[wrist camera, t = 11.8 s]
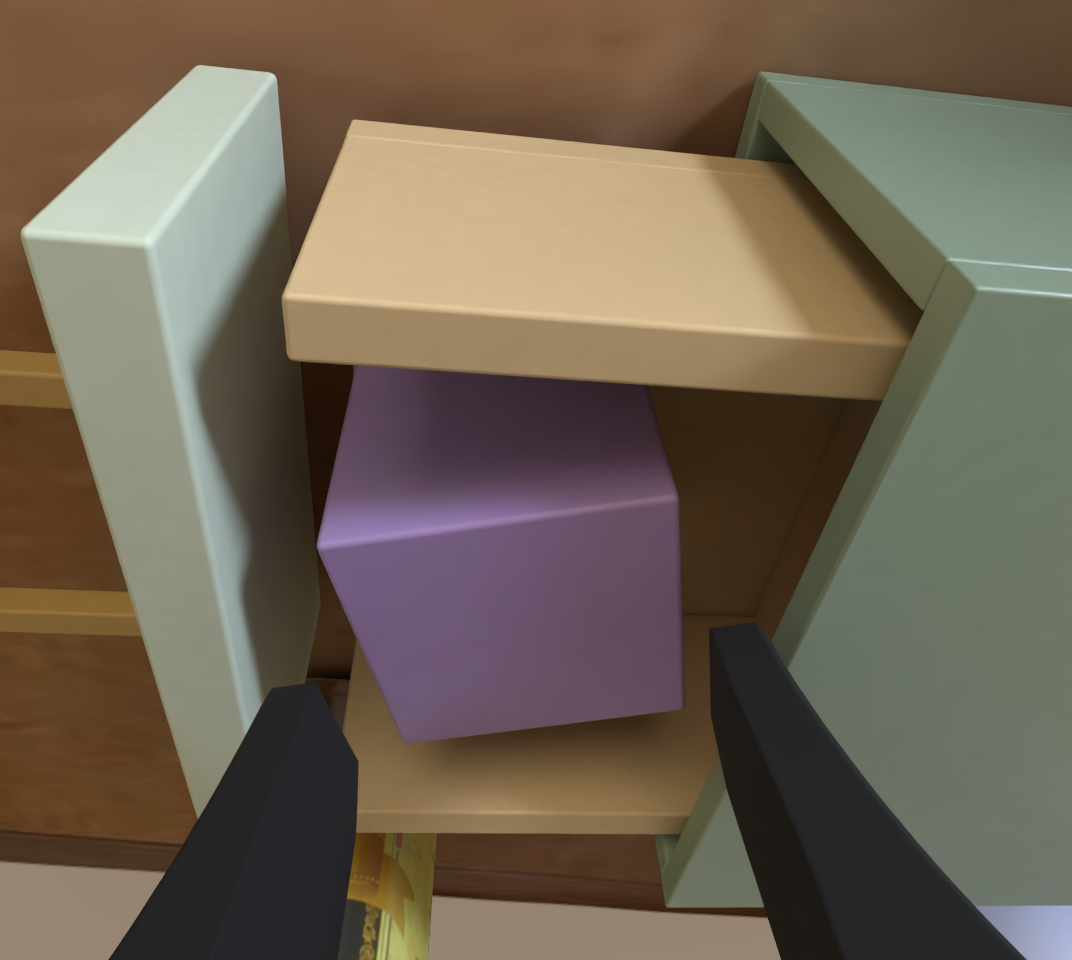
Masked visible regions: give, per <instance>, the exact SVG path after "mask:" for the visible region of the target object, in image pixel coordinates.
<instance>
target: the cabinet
mask: <svg viewBox="0 0 1072 960" xmlns="http://www.w3.org/2000/svg"><path fill="white" fill-rule="evenodd" d="M735 158H738V159H748V160H758V161H767V162H777V163H787V164H796V165H797V166H798V167H799V168H800V169H801V170H802V172H803V173H804V174H805V175H806V176H807V177H808V179H809V180H810V181H811V182H812V183H813V184H814V186H815V187H816V188H817V189H818V190H819V191H820V193H821V194H822V195H823V196H824V197H825V198H826V200H827V201H828V202H829V203H830V204H831V205H832V207H833V208H834V209H835V210H836V211H837V212H838V214H839V215H840V216H841V217H842V218H843V219H844V221H845V222H846V223H847V224H848V225H849V226H850V228H851V229H852V230H853V231H854V232H855V233H856V235H857V236H858V237H859V238H860V239H861V240H862V242H863V243H864V244H865V245H866V246H867V247H868V249H869V250H870V251H871V252H872V253H873V254H874V256H875V257H876V258H877V259H878V260H879V261H880V263H881V264H882V265H883V266H884V267H885V268H886V270H887V271H888V272H889V273H890V274H891V275H892V277H893V278H894V279H895V280H896V281H897V282H898V284H899V285H900V286H901V287H902V288H903V289H904V291H905V292H906V293H907V294H908V295H909V296H910V298H911V299H912V300H913V301H914V302H915V303H916V305H917V306H918V307H919V308H920V309H921V310H922V311H924V313H923V315H922V318H921V320H920V322H919V324H918V326H917V328H916V330H915V333H914V335H913V337H912V339H911V341H910V343H909V346H908V348H907V350H906V352H905V354H904V356H903V358H902V361H901V363H900V365H899V367H898V369H897V371H896V373H895V376H894V378H893V380H892V382H891V384H890V386H889V389H888V391H887V393H886V395H885V397H884V399H883V401H882V404H881V406H880V408H879V410H878V412H877V414H876V417H875V419H874V421H873V423H872V425H871V427H870V429H869V432H868V434H867V436H866V438H865V440H864V442H863V444H862V447H861V449H860V451H859V453H858V455H857V457H856V460H855V462H854V464H853V466H852V468H851V470H850V472H849V475H848V477H847V479H846V481H845V483H844V485H843V488H842V490H841V492H840V494H839V496H838V498H837V500H836V503H835V505H834V507H833V509H832V511H831V513H830V515H829V518H828V520H827V522H826V524H825V526H824V528H823V531H822V533H821V535H820V537H819V539H818V541H817V543H816V546H815V548H814V550H813V552H812V554H811V556H810V559H809V561H808V563H807V565H806V567H805V569H804V571H803V574H802V576H801V578H800V580H799V582H798V584H797V587H796V589H795V591H794V593H793V595H792V597H791V599H790V602H789V604H788V606H787V608H786V610H785V612H784V614H783V617H782V619H781V621H780V623H779V625H778V627H777V630H776V632H775V634H774V636H773V638H772V640H771V642H772V644H773V646H774V648H775V649H776V651H777V653H778V654H779V656H780V658H781V659H782V661H783V663H784V664H785V666H786V667H787V669H788V671H789V672H790V674H791V675H792V677H793V678H794V680H795V681H796V683H797V685H798V686H799V688H800V689H801V691H802V692H803V693H804V695H805V696H806V698H807V699H808V701H809V702H810V704H811V705H812V707H813V708H814V710H815V711H816V713H817V714H818V715H819V717H820V718H821V720H822V721H823V722H824V724H825V725H826V727H827V728H828V729H829V731H830V732H831V734H832V735H833V736H834V738H835V739H836V740H837V742H838V743H839V744H840V746H841V747H842V748H843V750H844V751H845V752H846V754H847V755H848V756H849V758H850V759H851V760H852V761H853V763H854V764H855V765H856V767H857V768H858V769H859V771H860V772H861V773H862V775H863V776H864V777H865V779H866V780H867V781H868V782H869V784H870V785H871V786H872V787H873V789H874V790H875V791H876V793H877V794H878V795H879V796H880V798H881V799H882V800H883V801H884V803H885V804H886V805H887V806H888V807H889V809H890V810H891V811H892V812H893V813H894V815H895V816H896V817H897V818H898V819H899V821H900V822H901V823H902V824H903V825H904V827H905V828H906V829H907V830H908V831H909V833H910V834H911V835H912V836H913V837H914V839H915V840H916V841H917V842H918V843H919V844H920V846H921V847H922V848H923V849H924V850H925V851H926V852H927V854H928V855H929V856H930V857H931V858H932V859H933V860H934V862H935V863H936V864H937V865H938V866H939V867H940V868H941V869H942V871H943V872H944V873H945V874H946V875H947V876H948V877H949V878H950V880H951V881H952V882H953V883H954V884H955V885H956V886H957V887H958V888H959V889H960V890H961V891H962V893H963V894H964V895H965V896H966V897H967V898H968V899H969V900H970V901H971V902H972V903H973V904H974V905H975V906H1072V107H1068V106H1059V105H1050V104H1042V103H1033V102H1024V101H1015V100H1007V99H998V98H989V97H980V96H972V95H963V94H954V93H945V92H937V91H928V90H919V89H910V88H902V87H893V86H884V85H875V84H867V83H858V82H849V81H840V80H832V79H823V78H814V77H805V76H797V75H788V74H779V73H770V72H759V73H758V74H757V76H756V79H755V83H754V87H753V91H752V94H751V98H750V102H749V106H748V110H747V113H746V117H745V121H744V125H743V129H742V132H741V136H740V140H739V144H738V148H737V151H736V155H735ZM654 838H655V844H656V850H657V856H658V862H659V868H660V873H661V875H662V877H661V882H662V888H663V894H664V900H665V905H666V907H668V908H689V907H764V904H763V901H762V898H761V895H760V892H759V889H758V886H757V883H756V880H755V877H754V873H753V870H752V867H751V864H750V861H749V858H748V855H747V852H746V849H745V845H744V842H743V839H742V836H741V833H740V830H739V827H738V824H737V820H736V817H735V814H734V811H733V808H732V805H731V802H730V798H729V795H728V792H727V789H726V784H725V780H724V775H723V771H722V766H721V761H720V757H719V754H718V756H717V759H716V761H715V763H714V765H713V767H712V769H711V772H710V774H709V776H708V778H707V780H706V782H705V784H704V787H703V789H702V791H701V793H700V795H699V797H698V800H697V802H696V804H695V806H694V808H693V810H692V812H691V815H690V817H689V819H688V821H687V823H686V825H685V828H684V830H683V832H682V834H654Z"/></svg>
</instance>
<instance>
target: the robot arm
mask: <svg viewBox="0 0 1072 960" xmlns="http://www.w3.org/2000/svg"><path fill="white" fill-rule="evenodd" d="M709 650H710V705H711V719H712V724H713V729H714V733H715V738H716V743H717V748H718V752H719V757H720V761H721V766H722V771H723V775H724V780H725V784H726V789H727V792H728V795H729V798H730V802H731V805H732V808H733V811H734V814H735V817H736V820H737V824H738V827H739V830H740V833H741V836H742V839H743V842H744V845H745V849H746V852H747V855H748V858H749V861H750V864H751V867H752V870H753V873H754V877H755V880H756V883H757V886H758V889H759V892H760V895H761V898H762V901H763V904H764V908H765V911H766V914H767V917H768V920H769V923H770V926H771V929H772V932H773V935H774V939H775V941H776V945H777V948H778V951H779V954H780V957H781V960H1072V906H975V905H974V904H973V903H972V902H971V901H970V900H969V899H968V898H967V897H966V896H965V895H964V894H963V893H962V891H961V890H960V889H959V888H958V887H957V886H956V885H955V884H954V883H953V882H952V881H951V880H950V878H949V877H948V876H947V875H946V874H945V873H944V872H943V871H942V869H941V868H940V867H939V866H938V865H937V864H936V863H935V862H934V860H933V859H932V858H931V857H930V856H929V855H928V854H927V852H926V851H925V850H924V849H923V848H922V847H921V846H920V844H919V843H918V842H917V841H916V840H915V839H914V837H913V836H912V835H911V834H910V833H909V831H908V830H907V829H906V828H905V827H904V825H903V824H902V823H901V822H900V821H899V819H898V818H897V817H896V816H895V815H894V813H893V812H892V811H891V810H890V809H889V807H888V806H887V805H886V804H885V803H884V801H883V800H882V799H881V798H880V796H879V795H878V794H877V793H876V791H875V790H874V789H873V787H872V786H871V785H870V784H869V782H868V781H867V780H866V779H865V777H864V776H863V775H862V773H861V772H860V771H859V769H858V768H857V767H856V765H855V764H854V763H853V761H852V760H851V759H850V758H849V756H848V755H847V754H846V752H845V751H844V750H843V748H842V747H841V746H840V744H839V743H838V742H837V740H836V739H835V738H834V736H833V735H832V734H831V732H830V731H829V729H828V728H827V727H826V725H825V724H824V722H823V721H822V720H821V718H820V717H819V715H818V714H817V713H816V711H815V710H814V708H813V707H812V705H811V704H810V702H809V701H808V699H807V698H806V696H805V695H804V693H803V692H802V691H801V689H800V688H799V686H798V685H797V683H796V681H795V680H794V678H793V677H792V675H791V674H790V672H789V671H788V669H787V667H786V666H785V664H784V663H783V661H782V659H781V658H780V656H779V654H778V653H777V651H776V649H775V648H774V646H773V644H772V642H771V641H770V639H769V637H768V635H767V633H766V632H765V630H764V628H763V626H761V625H759V624H758V623H756V622H751V623H743V624H736V625H729V626H721V627H714V628H709ZM358 766H359V761H358V760H357V758H356V756H355V754H354V752H353V750H352V749H351V747H350V745H349V743H348V741H347V739H346V737H345V736H344V734H343V732H342V730H341V728H340V726H339V725H338V723H337V721H336V719H335V717H334V715H333V714H332V712H331V710H330V708H329V706H328V704H327V703H326V701H325V699H324V697H323V695H322V693H321V692H320V690H319V688H318V686H317V684H316V682H313V683H305V684H298V685H291V686H283V687H276V688H272V689H271V691H270V692H269V693H268V694H267V696H266V698H265V700H264V702H263V703H262V705H261V707H260V709H259V711H258V713H257V715H256V716H255V718H254V720H253V722H252V724H251V726H250V728H249V729H248V731H247V733H246V735H245V737H244V739H243V741H242V742H241V744H240V746H239V748H238V750H237V752H236V753H235V755H234V757H233V759H232V761H231V762H230V764H229V766H228V768H227V770H226V771H225V773H224V775H223V777H222V779H221V780H220V782H219V784H218V786H217V788H216V789H215V791H214V793H213V795H212V796H211V798H210V800H209V801H208V803H207V805H206V807H205V808H204V810H203V812H202V813H201V815H200V817H199V818H198V820H197V822H196V824H195V825H194V827H193V829H192V830H191V832H190V834H189V835H188V837H187V839H186V841H185V842H184V844H183V846H182V847H181V849H180V851H179V852H178V854H177V856H176V857H175V859H174V860H173V862H172V864H171V865H170V867H169V868H168V870H167V872H166V873H165V875H164V876H163V878H162V880H161V881H160V882H159V884H158V886H157V887H156V889H155V890H154V892H153V894H152V895H151V896H150V898H149V900H148V901H147V903H146V904H145V906H144V907H143V909H142V910H141V912H140V914H139V915H138V917H137V918H136V920H135V921H134V923H133V924H132V926H131V928H130V929H129V931H128V932H127V934H126V935H125V936H124V938H123V939H122V941H121V942H120V944H119V945H118V947H117V948H116V950H115V951H114V953H113V954H112V955H111V957H110V958H109V960H338V953H339V947H340V940H341V934H342V927H343V921H344V914H345V908H346V901H347V895H348V888H349V881H350V874H351V868H352V861H353V854H354V847H355V840H356V826H357V804H358Z"/></svg>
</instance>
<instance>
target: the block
mask: <svg viewBox="0 0 1072 960" xmlns="http://www.w3.org/2000/svg"><path fill="white" fill-rule="evenodd" d="M316 547H317V550H318V552H319V554H320V557H321V559H322V561H323V563H324V566H325V568H326V570H327V573H328V575H329V577H330V579H331V582H332V584H333V586H334V588H335V591H336V593H337V595H338V597H339V600H340V602H341V604H342V606H343V609H344V611H345V613H346V615H347V618H348V620H349V622H350V624H351V627H352V629H353V631H354V634H355V636H356V638H357V640H358V643H359V645H360V647H361V649H362V652H363V654H364V656H365V658H366V661H367V663H368V665H369V667H370V670H371V672H372V674H373V676H374V679H375V681H376V683H377V686H378V688H379V690H380V692H381V695H382V697H383V699H384V701H385V704H386V706H387V708H388V710H389V713H390V715H391V717H392V719H393V722H394V724H395V726H396V728H397V731H398V733H399V735H400V737H401V740H402V742H403V743H407V744H409V743H417V742H425V741H433V740H441V739H450V738H458V737H466V736H474V735H482V734H490V733H498V732H506V731H515V730H523V729H531V728H539V727H547V726H555V725H563V724H571V723H580V722H588V721H596V720H604V719H612V718H620V717H628V716H636V715H645V714H653V713H661V712H669V711H677V710H682V709H684V707H685V671H684V638H683V606H682V573H681V540H680V508H679V495H678V492H677V488H676V485H675V481H674V477H673V474H672V470H671V467H670V463H669V460H668V456H667V453H666V449H665V446H664V442H663V438H662V435H661V431H660V428H659V424H658V421H657V417H656V414H655V410H654V407H653V403H652V399H651V396H650V392H649V389H648V385H637V384H623V383H608V382H593V381H579V380H564V379H550V378H535V377H520V376H506V375H491V374H477V373H462V372H447V371H433V370H418V369H403V368H389V367H374V366H360V365H356V369H355V373H354V378H353V382H352V387H351V391H350V396H349V400H348V405H347V409H346V414H345V418H344V423H343V428H342V432H341V437H340V441H339V446H338V450H337V455H336V459H335V464H334V468H333V473H332V477H331V482H330V486H329V491H328V495H327V500H326V504H325V509H324V513H323V518H322V522H321V527H320V531H319V536H318V540H317V546H316Z"/></svg>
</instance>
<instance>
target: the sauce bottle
mask: <svg viewBox="0 0 1072 960" xmlns="http://www.w3.org/2000/svg"><path fill="white" fill-rule="evenodd" d="M313 682H316V684H317V686H318V688H319V690H320V692H321V693H322V695H323V697H324V699H325V701H326V703H327V704H328V706H329V708H330V710H331V712H332V714H333V715H334V717H335V719H336V721H337V723H338V725H339V726H340V728H341V730H343V723H344V716H345V710H346V703H347V696H348V690H349V683H350V680H347V679H330V678H322V677H317V678H306V681H305V683H313ZM436 838H437V833H356V840H355V847H354V854H353V861H352V868H351V874H350V881H349V888H348V895H347V901H346V908H345V914H344V921H343V927H342V934H341V940H340V947H339V953H338V960H428V949H429V936H430V921H431V905H432V892H433V878H434V865H435V851H436Z"/></svg>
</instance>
